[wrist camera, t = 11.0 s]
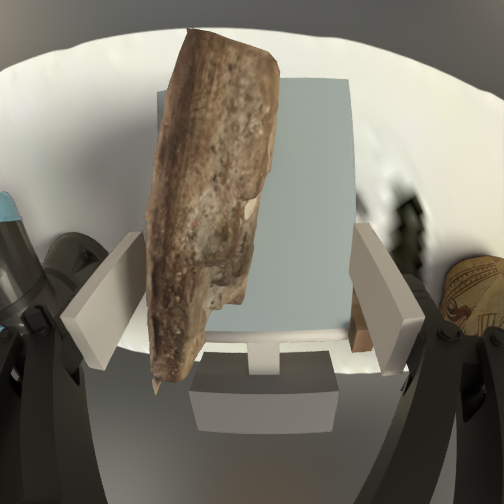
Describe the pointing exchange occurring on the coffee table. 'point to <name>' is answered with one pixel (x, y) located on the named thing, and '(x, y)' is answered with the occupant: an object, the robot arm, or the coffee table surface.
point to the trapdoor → (289, 276)
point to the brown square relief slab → (206, 192)
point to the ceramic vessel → (475, 295)
